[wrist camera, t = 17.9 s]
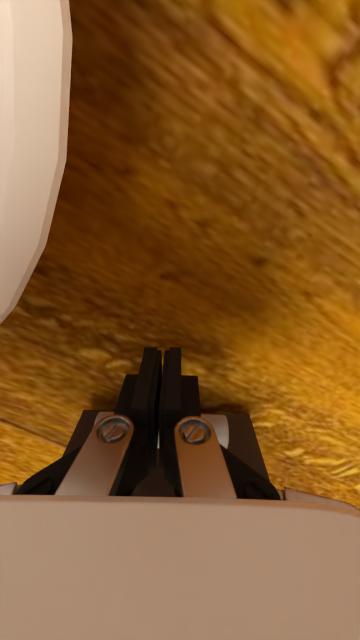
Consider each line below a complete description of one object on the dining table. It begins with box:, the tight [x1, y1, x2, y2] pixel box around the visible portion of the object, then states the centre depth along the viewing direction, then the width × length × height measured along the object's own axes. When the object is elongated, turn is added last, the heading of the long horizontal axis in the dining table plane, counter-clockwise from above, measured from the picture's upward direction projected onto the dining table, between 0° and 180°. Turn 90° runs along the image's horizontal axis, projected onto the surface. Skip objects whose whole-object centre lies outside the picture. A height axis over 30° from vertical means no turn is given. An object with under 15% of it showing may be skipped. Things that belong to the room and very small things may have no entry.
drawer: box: [62, 410, 270, 497], centre depth 17 cm, size 18×11×8 cm, turn 178°
